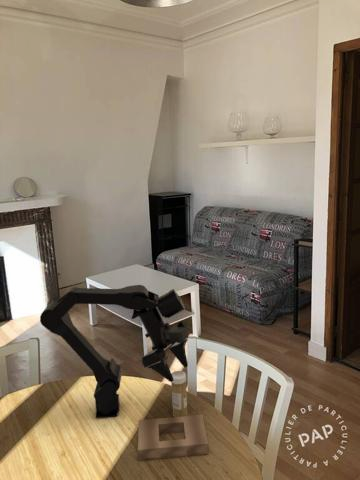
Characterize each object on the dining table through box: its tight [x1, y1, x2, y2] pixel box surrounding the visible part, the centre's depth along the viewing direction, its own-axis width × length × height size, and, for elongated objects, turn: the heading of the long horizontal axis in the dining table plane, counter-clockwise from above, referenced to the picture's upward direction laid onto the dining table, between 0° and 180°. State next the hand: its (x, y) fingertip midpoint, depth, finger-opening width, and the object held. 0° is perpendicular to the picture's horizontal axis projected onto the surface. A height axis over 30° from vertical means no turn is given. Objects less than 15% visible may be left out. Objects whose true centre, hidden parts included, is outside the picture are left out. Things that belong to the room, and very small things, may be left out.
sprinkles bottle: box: [170, 370, 189, 417], centre depth 123 cm, size 5×5×13 cm
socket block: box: [137, 414, 209, 461], centre depth 113 cm, size 18×12×3 cm, turn 94°
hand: (179, 373), depth 121 cm, fingers open, 9 cm apart
